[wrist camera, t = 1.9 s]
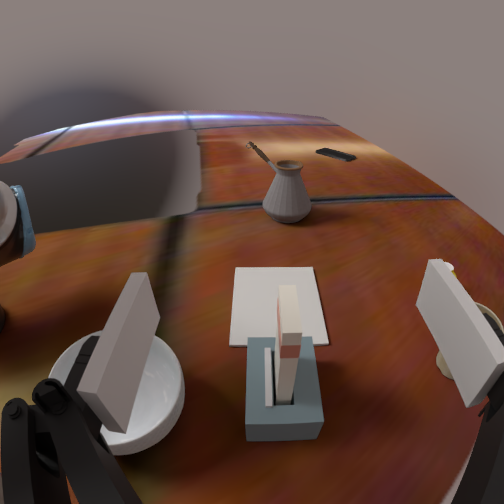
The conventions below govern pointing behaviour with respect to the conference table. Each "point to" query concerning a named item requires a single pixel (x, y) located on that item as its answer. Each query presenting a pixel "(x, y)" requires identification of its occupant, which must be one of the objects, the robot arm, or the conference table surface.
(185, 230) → the conference table surface
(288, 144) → the conference table surface
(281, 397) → the pink striped white block
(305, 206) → the coffee pot
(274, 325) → the mat
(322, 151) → the phone
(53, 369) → the cereal bowl
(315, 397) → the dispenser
